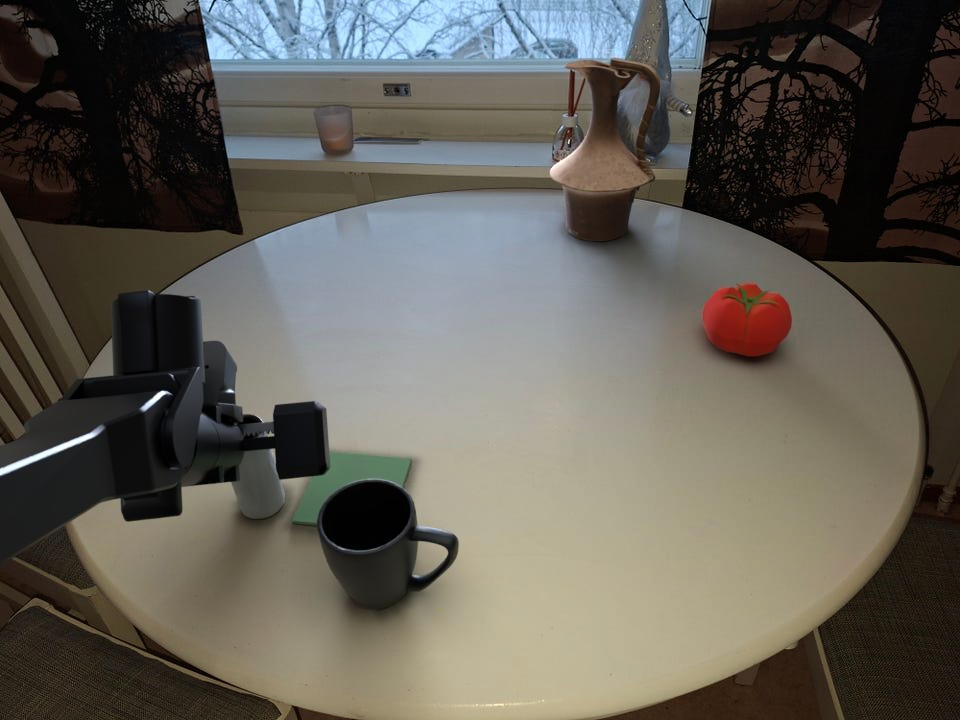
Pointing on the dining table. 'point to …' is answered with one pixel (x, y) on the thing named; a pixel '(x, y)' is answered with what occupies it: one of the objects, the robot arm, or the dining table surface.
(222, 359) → the robot arm
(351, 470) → the green mat
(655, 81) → the pitcher
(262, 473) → the grey tumbler
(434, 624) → the dining table surface
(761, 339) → the tomato
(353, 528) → the mug
